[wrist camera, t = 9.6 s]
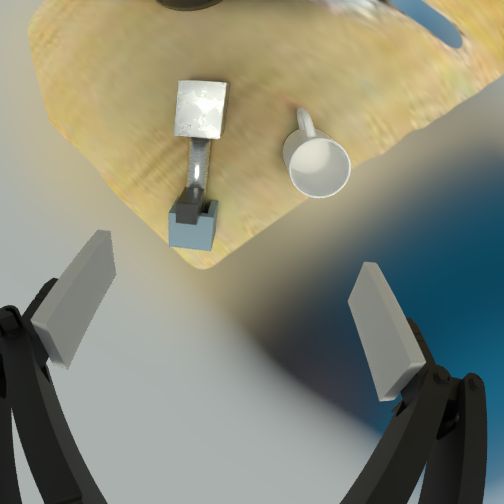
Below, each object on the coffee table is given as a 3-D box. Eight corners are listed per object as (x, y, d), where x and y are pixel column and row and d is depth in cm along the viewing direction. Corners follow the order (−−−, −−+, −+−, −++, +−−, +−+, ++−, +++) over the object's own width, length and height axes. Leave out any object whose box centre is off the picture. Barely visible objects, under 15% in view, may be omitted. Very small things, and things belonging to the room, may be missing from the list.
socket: (178, 196, 49) (168, 212, 44) (218, 201, 50) (213, 217, 44) (177, 227, 52) (168, 246, 47) (215, 231, 53) (211, 251, 48)
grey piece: (192, 127, 42) (178, 138, 34) (213, 128, 42) (203, 140, 34) (187, 213, 50) (174, 241, 42) (205, 215, 50) (196, 243, 42)
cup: (288, 180, 48) (297, 204, 39) (269, 111, 42) (274, 118, 33) (336, 169, 47) (355, 190, 38) (321, 99, 40) (338, 104, 32)
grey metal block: (188, 80, 39) (179, 79, 33) (230, 83, 39) (226, 82, 34) (183, 128, 43) (174, 135, 38) (223, 131, 43) (219, 139, 38)
